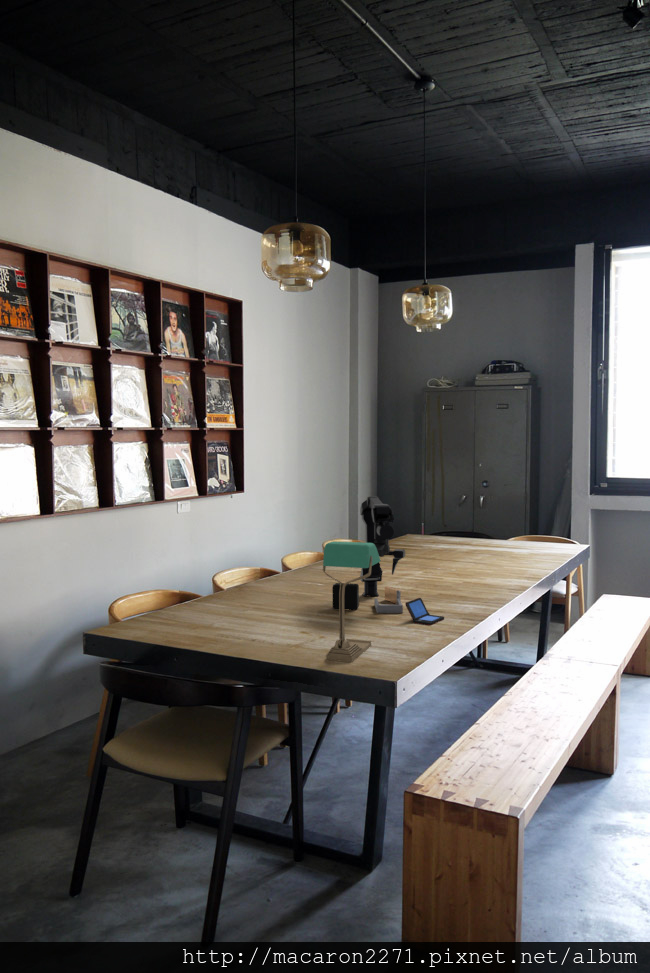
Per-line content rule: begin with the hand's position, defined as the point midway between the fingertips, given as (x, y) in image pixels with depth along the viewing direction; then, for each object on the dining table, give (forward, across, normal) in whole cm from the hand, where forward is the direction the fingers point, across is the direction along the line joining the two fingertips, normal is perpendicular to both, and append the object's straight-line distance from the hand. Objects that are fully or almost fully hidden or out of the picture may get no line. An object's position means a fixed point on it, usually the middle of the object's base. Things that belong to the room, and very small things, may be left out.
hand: (381, 573), depth 306 cm
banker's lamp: (+12, +4, -68) cm, 69 cm away
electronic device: (+14, -13, -7) cm, 20 cm away
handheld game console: (+13, +20, -19) cm, 31 cm away
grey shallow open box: (+13, +4, -4) cm, 14 cm away
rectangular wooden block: (+13, +3, +9) cm, 16 cm away
